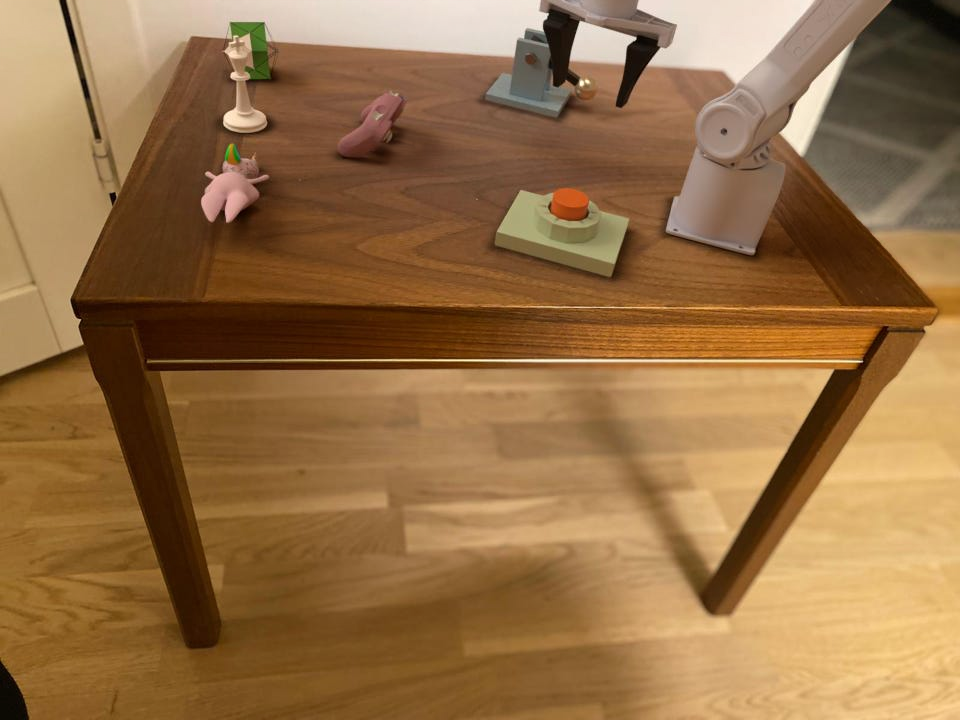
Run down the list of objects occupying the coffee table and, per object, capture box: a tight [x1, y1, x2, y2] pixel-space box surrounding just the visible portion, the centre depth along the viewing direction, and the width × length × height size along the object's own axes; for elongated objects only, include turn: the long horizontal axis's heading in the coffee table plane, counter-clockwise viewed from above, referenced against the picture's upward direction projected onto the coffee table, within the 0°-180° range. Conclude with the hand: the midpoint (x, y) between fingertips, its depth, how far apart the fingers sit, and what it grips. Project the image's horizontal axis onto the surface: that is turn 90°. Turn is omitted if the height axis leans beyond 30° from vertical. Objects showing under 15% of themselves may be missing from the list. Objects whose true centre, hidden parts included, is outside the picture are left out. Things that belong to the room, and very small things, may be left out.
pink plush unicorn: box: [200, 143, 270, 224], centre depth 73 cm, size 6×6×15 cm
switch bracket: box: [484, 27, 572, 118], centre depth 98 cm, size 10×8×8 cm
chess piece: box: [222, 35, 268, 134], centre depth 84 cm, size 5×5×10 cm
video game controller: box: [337, 89, 408, 158], centre depth 85 cm, size 10×5×7 cm, turn 168°
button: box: [550, 187, 590, 221], centre depth 74 cm, size 4×4×2 cm
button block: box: [494, 189, 630, 278], centre depth 76 cm, size 12×9×4 cm
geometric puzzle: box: [221, 21, 280, 80], centre depth 94 cm, size 7×7×8 cm
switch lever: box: [530, 35, 598, 101], centre depth 97 cm, size 11×3×3 cm, turn 72°
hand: (589, 94), depth 83 cm, fingers open, 7 cm apart
